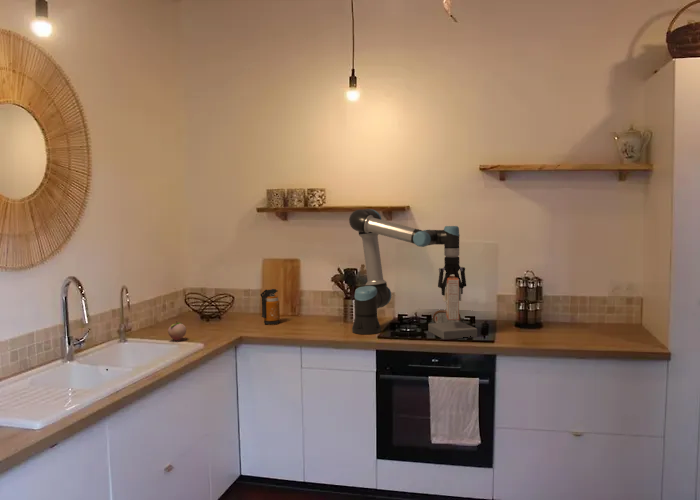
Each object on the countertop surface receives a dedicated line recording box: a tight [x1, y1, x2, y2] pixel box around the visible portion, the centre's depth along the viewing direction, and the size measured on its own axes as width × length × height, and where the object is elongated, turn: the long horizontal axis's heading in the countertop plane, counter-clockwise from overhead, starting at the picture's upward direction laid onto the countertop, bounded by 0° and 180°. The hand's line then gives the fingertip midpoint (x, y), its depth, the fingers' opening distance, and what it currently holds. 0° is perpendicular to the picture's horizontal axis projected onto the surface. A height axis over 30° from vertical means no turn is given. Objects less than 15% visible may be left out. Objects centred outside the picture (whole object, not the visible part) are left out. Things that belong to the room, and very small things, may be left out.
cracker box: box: [445, 275, 460, 320], centre depth 299 cm, size 14×6×21 cm, turn 175°
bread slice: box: [432, 309, 462, 323], centre depth 321 cm, size 15×3×8 cm, turn 84°
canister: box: [260, 288, 281, 325], centre depth 334 cm, size 9×11×20 cm
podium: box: [427, 320, 478, 340], centre depth 300 cm, size 18×20×4 cm
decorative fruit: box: [167, 321, 187, 341], centre depth 295 cm, size 9×8×10 cm
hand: (452, 300), depth 299 cm, fingers closed on cracker box, 7 cm apart
